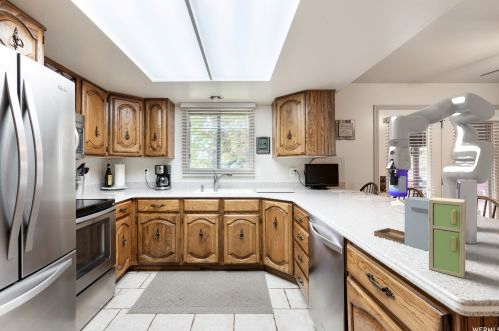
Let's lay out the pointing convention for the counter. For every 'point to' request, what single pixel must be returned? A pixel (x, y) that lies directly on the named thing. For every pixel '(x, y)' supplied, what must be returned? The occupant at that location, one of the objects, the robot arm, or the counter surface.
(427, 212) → the unit
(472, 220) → the grey post
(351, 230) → the counter surface
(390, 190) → the bottle
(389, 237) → the tray
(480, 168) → the robot arm
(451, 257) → the toy refrigerator
